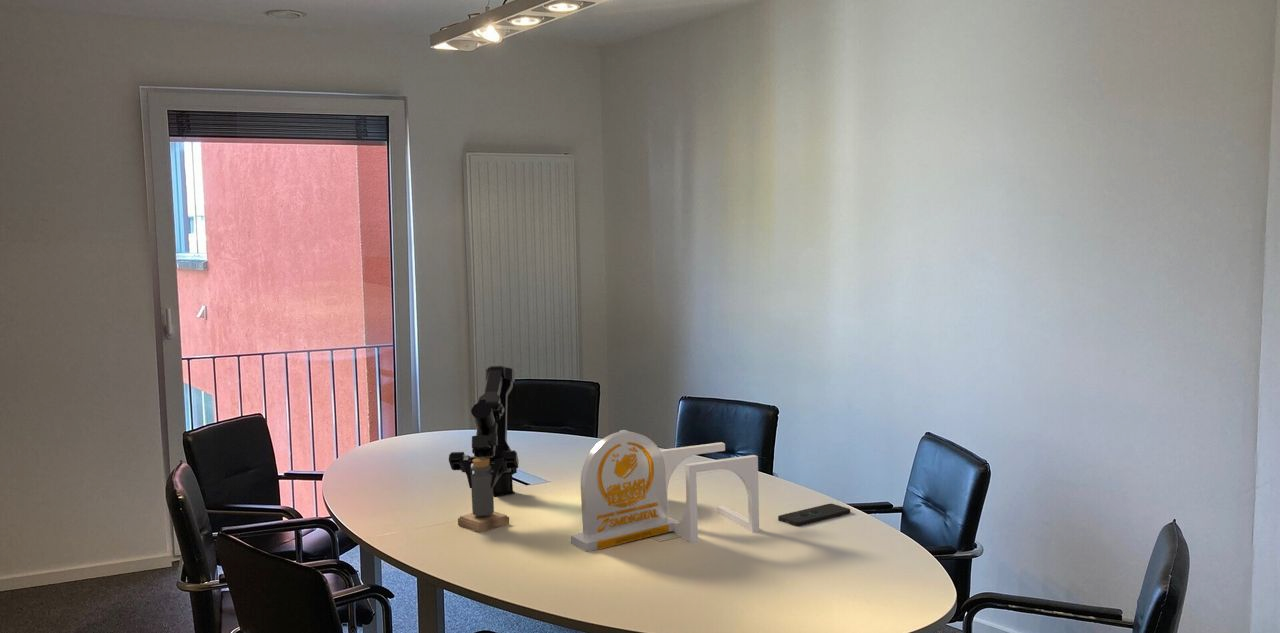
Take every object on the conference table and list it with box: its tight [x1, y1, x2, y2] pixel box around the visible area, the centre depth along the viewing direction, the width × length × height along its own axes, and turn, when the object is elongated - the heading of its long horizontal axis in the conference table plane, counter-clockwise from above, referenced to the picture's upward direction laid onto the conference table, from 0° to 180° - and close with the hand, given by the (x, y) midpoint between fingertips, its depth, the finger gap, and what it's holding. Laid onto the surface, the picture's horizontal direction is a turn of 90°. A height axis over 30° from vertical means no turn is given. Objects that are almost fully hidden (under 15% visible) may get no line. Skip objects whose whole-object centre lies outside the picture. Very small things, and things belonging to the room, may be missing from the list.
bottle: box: [470, 458, 495, 516], centre depth 274 cm, size 6×6×15 cm
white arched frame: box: [659, 441, 760, 543], centre depth 266 cm, size 20×20×20 cm
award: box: [570, 430, 680, 553], centre depth 258 cm, size 28×9×28 cm, turn 122°
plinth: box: [457, 511, 510, 533], centre depth 274 cm, size 10×10×2 cm
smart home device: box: [777, 503, 851, 527], centre depth 273 cm, size 8×2×20 cm
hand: (481, 487), depth 272 cm, fingers closed on bottle, 6 cm apart
